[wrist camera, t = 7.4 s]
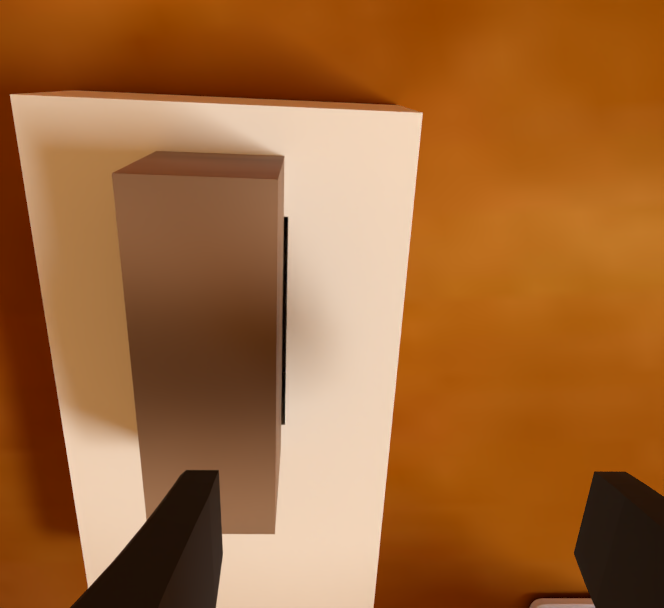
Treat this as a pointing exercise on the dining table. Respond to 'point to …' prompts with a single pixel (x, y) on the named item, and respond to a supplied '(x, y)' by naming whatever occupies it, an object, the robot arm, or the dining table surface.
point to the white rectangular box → (297, 321)
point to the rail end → (206, 323)
